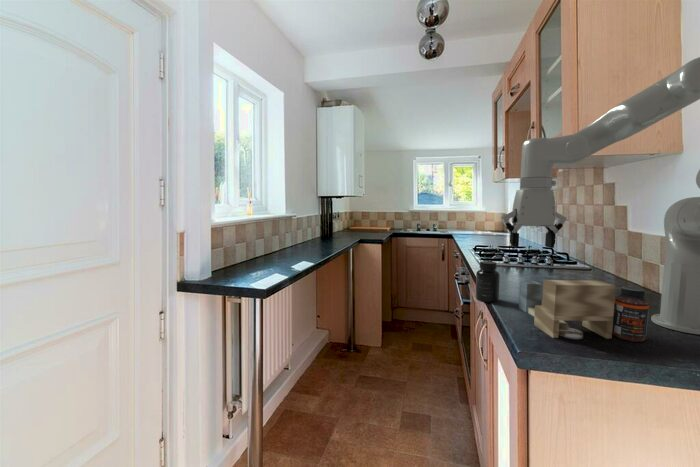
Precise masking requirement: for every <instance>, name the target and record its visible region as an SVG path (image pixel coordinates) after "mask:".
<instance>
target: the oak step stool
mask: <svg viewBox="0 0 700 467" xmlns="http://www.w3.org/2000/svg"><path fill="white" fill-rule="evenodd" d="M542 282H543V283H542V295H541V305H535V316H533V318H534V319H533V320H534V322H533V326H535V328H537V329H539V330H540V331H542V332H544V333H545V334H546V335H548V336H549V337H551V338H552V339H559V336H560V335H559V320H562V321H564V322H566V321H576V322H578V321H581V322H582V323H581V325H582V327H583V328H586V329H588V330H589V331H592V332H594V333H595V334H597V335H599V336H601V337H603V338H605V339H613V337H612V336H613V333H612V327H613V315H614V303H615V298H616V297H615V296H616V285H615V284H612V283H609V282H605V281H602V280H597V279H596V280H593V279H591V280H584V279H583V280H581V279H580V280H579V279H577V280H575V279H572V280H571V279H567V280H566V279H565V280H564V279H559V280H558V279H554V280H553V279H543V280H542Z"/></svg>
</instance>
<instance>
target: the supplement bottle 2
mask: <svg viewBox="0 0 700 467" xmlns="http://www.w3.org/2000/svg"><path fill="white" fill-rule="evenodd" d="M644 296H645V289H643V288H640V287H636V286H635V287H634V286H621V290H620V294H619V295H617V296H616V297H615V299H614V313H613V327H612V336H614V337H616V338H618V339H621V340H624V341H629V342H637V343H641V342H645V340H646V339H647V333H648V332H647V331H648V322H649V313H650V312H649V311H650V310H649V309H650V303H649V300H648V299H645V297H644Z"/></svg>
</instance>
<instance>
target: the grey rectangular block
mask: <svg viewBox="0 0 700 467" xmlns="http://www.w3.org/2000/svg"><path fill="white" fill-rule="evenodd" d="M542 292H543V283H540V282H537V281H535V280H520V281H519V293H518V294H519V295H518V296H519V297H518V309H519V310H521V311H523V312H524V313H527V314H529V315H530V316H532V317H534V316H535V305H542ZM559 327H568V328H569V323H568V322H566V321H564V320H559Z"/></svg>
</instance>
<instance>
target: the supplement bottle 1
mask: <svg viewBox="0 0 700 467" xmlns="http://www.w3.org/2000/svg"><path fill="white" fill-rule="evenodd" d="M497 265H498V264H497V262H496V261H490V260H488V261H487V260H483V261H479V270H477V271H476V274H475V280H476V281H475V300H476V301H478V302H480V303H487V304H493V303H498V302H499V301H500V281H501V278H500V277H501V274H500V272H499V271H497V270H498V268H497Z"/></svg>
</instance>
